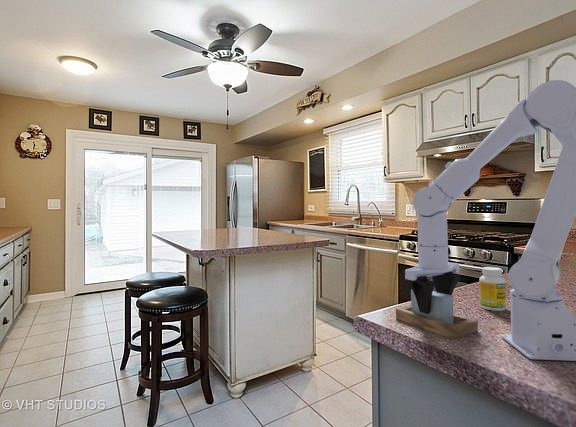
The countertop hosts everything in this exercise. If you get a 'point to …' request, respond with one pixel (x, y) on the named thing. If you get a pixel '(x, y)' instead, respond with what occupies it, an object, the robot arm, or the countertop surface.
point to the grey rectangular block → (437, 307)
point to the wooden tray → (439, 323)
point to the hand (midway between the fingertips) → (434, 310)
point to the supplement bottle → (492, 289)
